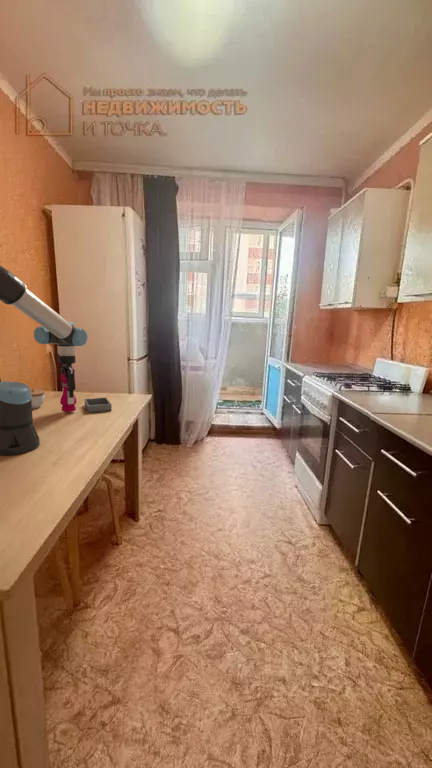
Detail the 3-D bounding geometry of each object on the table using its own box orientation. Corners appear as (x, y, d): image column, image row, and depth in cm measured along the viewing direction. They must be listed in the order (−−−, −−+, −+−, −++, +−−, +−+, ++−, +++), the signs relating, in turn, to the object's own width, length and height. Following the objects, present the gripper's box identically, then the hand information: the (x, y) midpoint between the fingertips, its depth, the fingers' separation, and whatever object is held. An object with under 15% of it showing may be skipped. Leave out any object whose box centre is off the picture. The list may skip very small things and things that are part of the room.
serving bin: (111, 410, 172) (111, 404, 172) (88, 413, 167) (88, 406, 167) (106, 403, 184) (106, 397, 184) (84, 405, 179) (84, 399, 179)
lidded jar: (38, 410, 168) (37, 391, 166) (17, 409, 168) (15, 390, 167) (49, 404, 179) (48, 386, 177) (29, 403, 179) (27, 386, 177)
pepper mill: (57, 411, 164) (55, 370, 160) (66, 407, 171) (64, 367, 167) (71, 412, 162) (69, 371, 159) (79, 408, 169) (78, 369, 166)
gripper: (82, 357, 156) (83, 405, 161) (68, 352, 171) (70, 396, 176) (64, 357, 151) (66, 407, 156) (52, 352, 166) (54, 398, 171)
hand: (68, 401), depth 166 cm, fingers closed on pepper mill, 7 cm apart
